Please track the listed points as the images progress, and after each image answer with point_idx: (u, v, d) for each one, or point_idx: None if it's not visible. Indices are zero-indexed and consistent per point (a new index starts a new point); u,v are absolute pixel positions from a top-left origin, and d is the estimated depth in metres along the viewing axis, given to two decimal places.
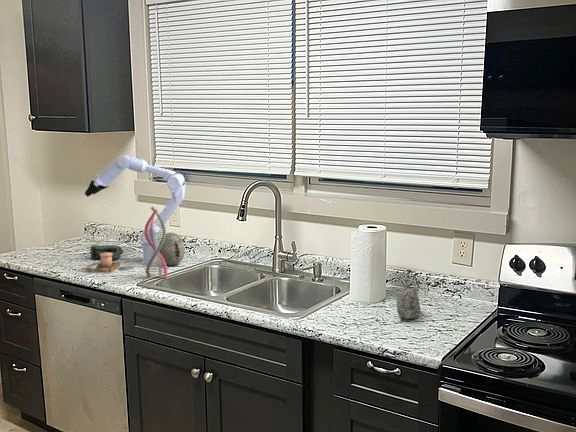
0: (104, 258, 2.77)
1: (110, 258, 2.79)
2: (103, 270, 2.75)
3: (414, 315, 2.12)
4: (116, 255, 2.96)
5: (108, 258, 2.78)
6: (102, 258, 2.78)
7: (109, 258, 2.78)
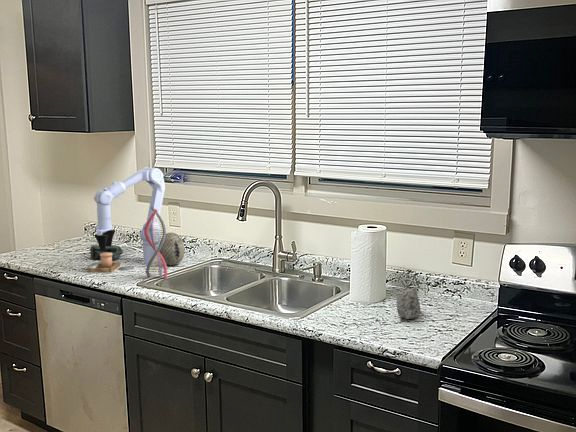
0: (104, 258, 2.77)
1: (110, 258, 2.79)
2: (103, 270, 2.75)
3: (414, 315, 2.12)
4: (116, 255, 2.96)
5: (108, 258, 2.78)
6: (102, 258, 2.78)
7: (109, 258, 2.78)
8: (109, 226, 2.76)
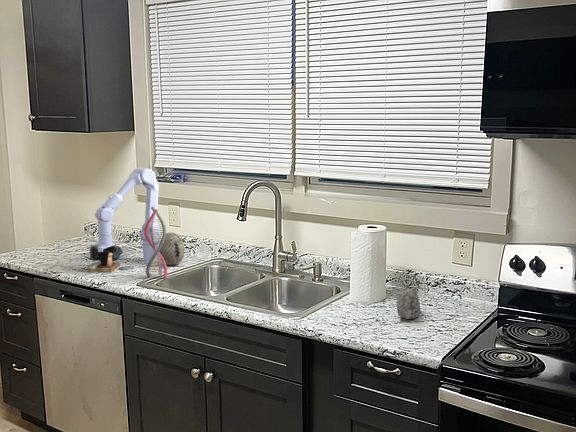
0: None
1: (110, 258, 2.79)
2: (103, 270, 2.75)
3: (414, 315, 2.12)
4: (115, 255, 2.95)
5: (108, 258, 2.78)
6: None
7: (109, 258, 2.78)
8: (110, 242, 2.77)
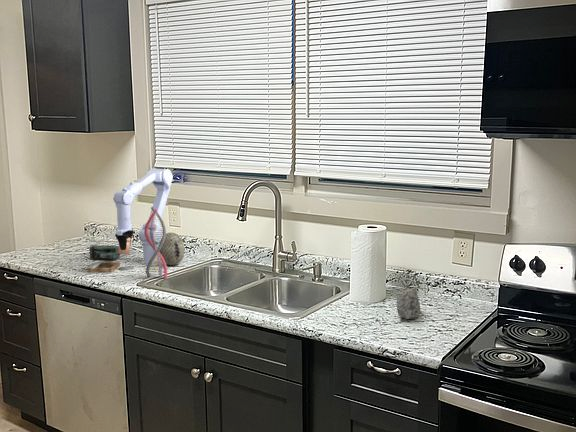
0: None
1: (128, 243, 2.78)
2: (103, 270, 2.75)
3: (414, 315, 2.12)
4: (115, 255, 2.95)
5: None
6: None
7: (127, 243, 2.78)
8: (129, 226, 2.77)
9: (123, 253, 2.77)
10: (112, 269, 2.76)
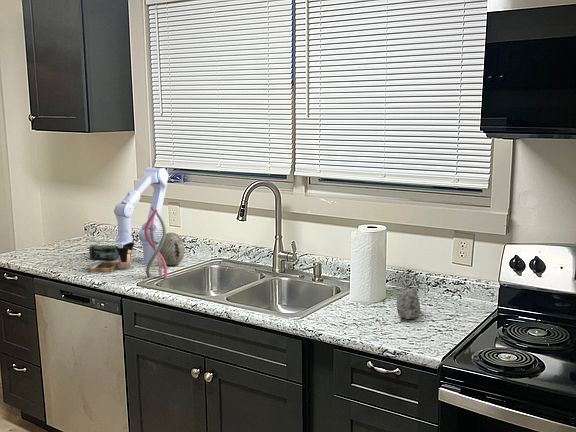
0: None
1: (129, 255, 2.79)
2: (103, 270, 2.75)
3: (414, 315, 2.12)
4: (115, 255, 2.95)
5: (127, 255, 2.78)
6: None
7: (128, 255, 2.79)
8: (129, 238, 2.78)
9: (124, 265, 2.78)
10: (112, 269, 2.76)
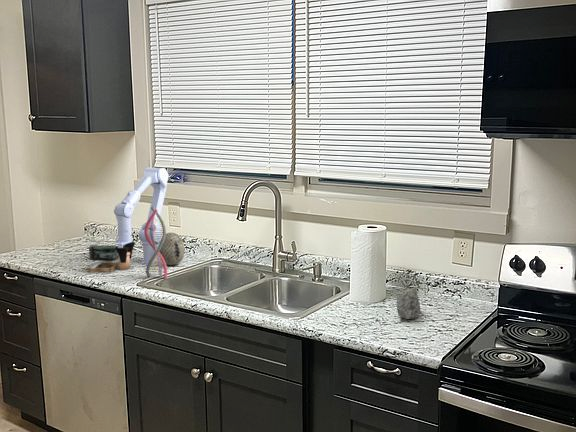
0: None
1: (128, 257, 2.79)
2: (103, 270, 2.75)
3: (414, 315, 2.12)
4: (114, 255, 2.95)
5: None
6: None
7: (127, 257, 2.79)
8: (129, 238, 2.78)
9: (124, 268, 2.79)
10: (112, 269, 2.76)
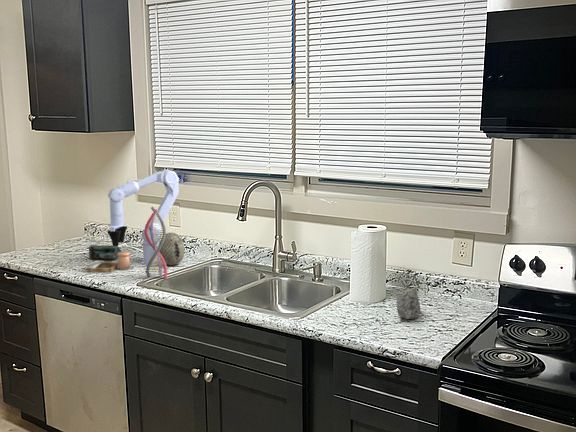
0: (122, 257, 2.78)
1: (128, 257, 2.79)
2: (103, 270, 2.75)
3: (414, 315, 2.12)
4: (114, 255, 2.95)
5: (126, 257, 2.78)
6: (120, 257, 2.78)
7: (127, 257, 2.79)
8: (121, 222, 2.84)
9: (124, 268, 2.79)
10: (112, 269, 2.76)
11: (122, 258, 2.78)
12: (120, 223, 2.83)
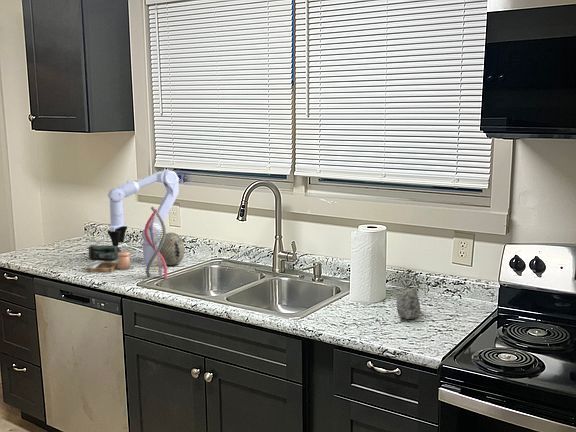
0: (122, 257, 2.78)
1: (128, 257, 2.79)
2: (103, 270, 2.75)
3: (414, 315, 2.12)
4: (114, 255, 2.95)
5: (126, 257, 2.78)
6: (120, 257, 2.78)
7: (127, 257, 2.79)
8: (121, 222, 2.84)
9: (124, 268, 2.79)
10: (112, 269, 2.76)
11: (122, 258, 2.78)
12: (120, 223, 2.83)
